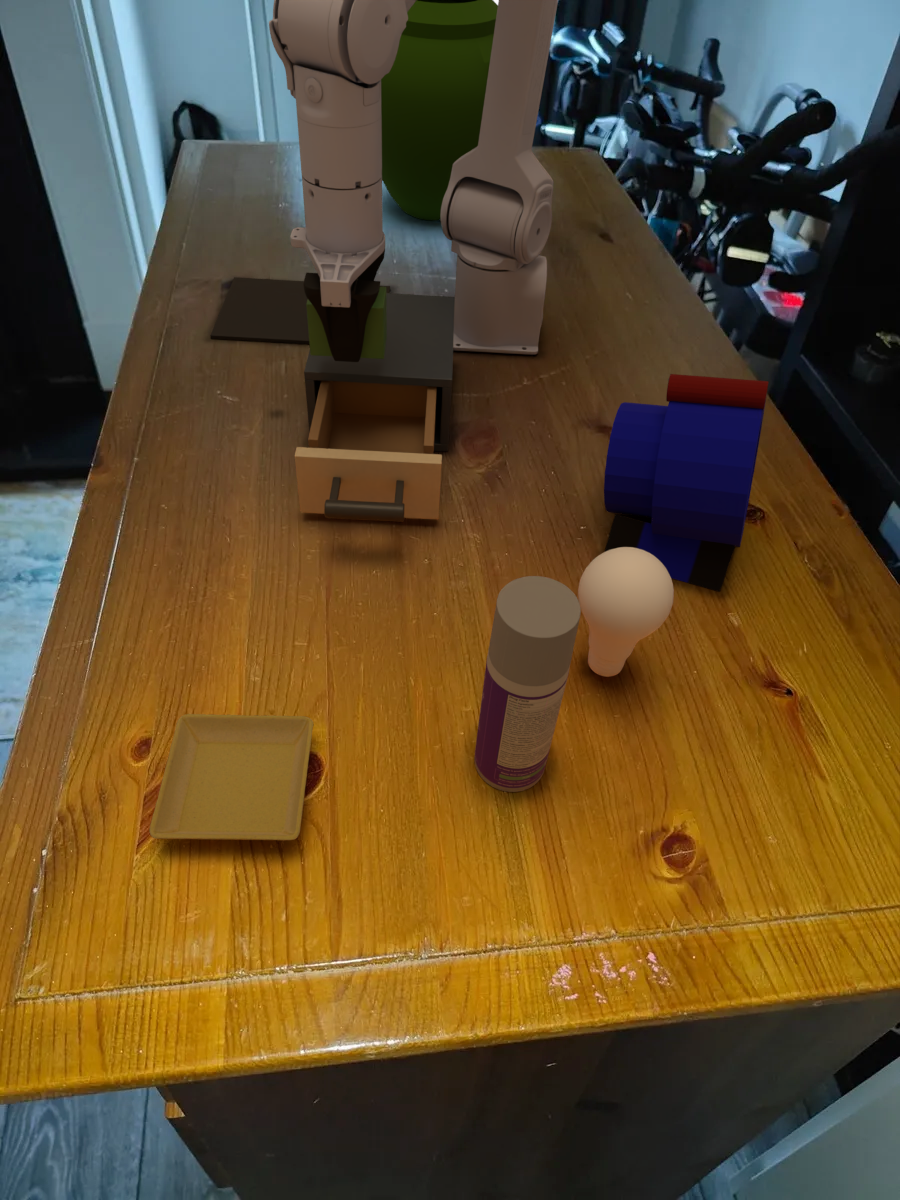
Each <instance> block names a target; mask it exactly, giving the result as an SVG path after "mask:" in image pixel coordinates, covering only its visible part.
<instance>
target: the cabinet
mask: <svg viewBox="0 0 900 1200" xmlns="http://www.w3.org/2000/svg"><path fill="white" fill-rule="evenodd" d="M454 305H455V296H448V295H447V296H446V295H445V296H444V295H429V294H412V293H411V294H410V293H394V292H393V293H392V292H390V293H386V316H387V338H386V346H385V354H384V359H374V358H360V360H359V362H344V361H335V360H334V358H333V356H315V355H311V354H310V349H309V351H308V355H307V359H306V362H305V367H304V371H303V374H304V375H303V376H304V386H305V398H306V409H307V421H308V433H310V428H311V424H312V419H313V415H314V410H315V406H316V401H317V397H318V392H319V388H320V383H321V380H322V381H340V382H359V383H377V384H396V385H414V386H432V387H437V394H436V416H435V436H434V452H448V451H449V438H450V426H451V424H450V423H451V408H452V389H453V373H454V372H453V370H454V369H453V367H454V366H453V365H454V350H453V339H454Z"/></svg>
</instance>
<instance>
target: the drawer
mask: <svg viewBox="0 0 900 1200" xmlns="http://www.w3.org/2000/svg"><path fill="white" fill-rule="evenodd" d="M436 394H437V387H432V386H414V385H396V384H377V383H359V382H340V381H322V380H321V383H320V388H319V392H318V397H317V401H316V406H315V410H314V415H313V419H312V424H311V428H310V433H309V432H308V433H309V434H308V438H307V442H308V447H304V446H296V448H295V451H294V465H295V475H296V485H297V493H298V495H297V496H298V502H299V512H300V513H302V514H303V513H304V514H321V515H323V514H324V518H326V519H340V520H359V521H361V520H362V521H378V522H379V521H380V522H381V521H382V522H401V523H404V521H405V518H406V519H424V520H439V519H440V502H441V486H442V485H441V484H442V469H443V468H442V466H443V454H440V453H439V454H438V453H434V452H435V451H434V436H435V416H436Z"/></svg>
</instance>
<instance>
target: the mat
mask: <svg viewBox="0 0 900 1200" xmlns="http://www.w3.org/2000/svg"><path fill="white" fill-rule="evenodd" d="M380 287H386V293H391V286H390V285H380ZM307 300H308V298H307V297H306V294H305V291H304V280H289V279H288V280H287V279H273V278H272V279H271V278H254V277H253V278H252V277H237V276H236V277H233V279H232V282H231V284H230V286H229V289H228V291H227V294H226V296H225V299H224V301H223V303H222V306H221V309H220V310H219V314H218V316H217V318H216V320H215V322H214V325H213V328H212V330H211V333H210V336H209V337H210V339H211V340H228V341H229V340H231V341H244V342H245V341H247V342H248V341H249V342H264V343H265V342H266V343H283V344H284V343H286V344H299V345H301V344H302V345H310V343H309V331H308V318H307V306H306V304H307Z"/></svg>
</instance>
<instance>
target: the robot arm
mask: <svg viewBox="0 0 900 1200" xmlns="http://www.w3.org/2000/svg"><path fill="white" fill-rule="evenodd" d="M415 2H416V0H273V8H272V19H271V20H269V21H268V29H269V34H270V39H271V42H272V45H273V48H274V50H275V52H276V54H277V56H278V57H279V59H280V60H281V63H282V64H283V66H284V70H285V76H286V77H285V78H286V88H287V90H288V91H289V92H290V96H291V97H293V98H294V99H295V106H296V107H295V108H296V120H297V121H296V122H297V134H298V146H299V147H298V148H299V159H300V161H299V162H300V172H301V185H302V186H301V187H302V197H303V211H304V223H305V225H304V226H305V227H300V226H299V227H294V228H293V229H292V230H291V233H290V236H289V240H290V246H291V247H293V248H297V249H304V250H305V252H306V253H307V255H308V257H309V259H310V262H311V263H312V266H313V267H314V269H315V271H316V272H306V273H305V274H304V275H305V276H304V279H303V281H304V291H305V294H306V297H307V298H308V300H309V301H310V302H311V304H312V305H313V307H314V308H315V310H316V311H317V313H318V315H319V317H320V319H321V322H322V324H323V327H324V331H325V334H326V337H327V341H328V344H329V348H330V351H331V353H332V356H333V358H334V360H335V361H344V362H359V360H360V357H361V353H362V348H363V341H364V334H365V326H366V321H367V318H368V315H369V312H370V310H371V307H372V306H373V304H374V302H375V300H376V298H377V296H378V293H379V289H380V286H381V281H380V280H376V279H375V278H376V276H377V274H378V271H379V269H380V267H381V265H382V263H383V261H384V259H385V254H386V235H385V232H384V230H383V229H384V228H383V227H384V226H383V224H384V223H383V218H384V217H383V181H382V115H381V79H382V78H383V77H384V76H385V75H386V74H388V73H389V72H390V70H391V68H392V66H393V63H394V61H395V58H396V55H397V51H398V47H399V41H400V37H401V34H402V32H403V31H404V29H405V28H406V22H407V21H408V14H407V12H408V11H409V9H410V8H411V7H412V6H413V4H414V3H415ZM558 3H559V0H498V1H497V5H498V9H497V16H496V23H495V30H494V37H493V44H492V51H491V58H490V65H489V72H488V79H487V86H486V93H485V100H484V107H483V114H482V121H481V128H480V135H479V142H478V146H477V147H476V148H474V149H473V150H471V151H469V152H468V153H466V154H464V155H463V156H461V157H460V158H459V159H458V160H456V161H455V162H454V164H453V167H452V172H451V177H450V181H449V185H448V188H447V191H446V193H445V195H444V198H443V201H442V206H441V216H440V217H441V220H440V225H441V229H442V233H443V235H444V237H445V238H446V239H447V240H449V241H451V249H450V251H451V252H452V253H454V254H456V268H455V270H456V271H455V289H454V297H455V305H454V339H453V351H461V352H478V353H494V354H495V353H497V354H512V355H513V354H514V355H515V354H516V355H531V356H533V355H537V354H539V342H540V334H541V327H542V325H543V320H544V319H543V318H544V307H545V298H546V291H547V290H546V289H547V279H548V261H547V256H545V255H541V253H542V252H543V250H544V249H545V247H546V244H547V242H548V239H549V237H550V233H551V228H552V223H553V211H552V205H553V203H552V202H553V194H554V183H555V182H554V179H553V177H552V176H551V175H550V173H549V172H548V171H547V169H545V167H544V166H543V165H542V163H541V162H540V161H539V159H538V158H537V156H536V155H535V154H534V152H533V150H532V149H533V144H534V137H535V133H536V127H537V121H538V115H539V109H540V104H541V98H542V94H543V93H542V92H543V87H544V82H545V76H546V70H547V66H548V60H549V54H550V48H551V42H552V37H553V31H554V25H555V20H556V14H557V9H558Z"/></svg>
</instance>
